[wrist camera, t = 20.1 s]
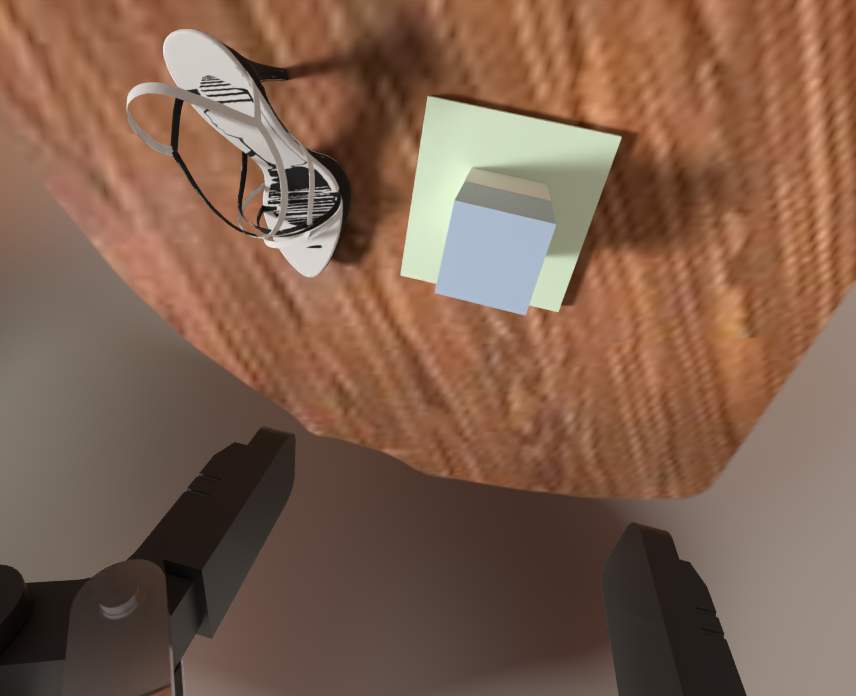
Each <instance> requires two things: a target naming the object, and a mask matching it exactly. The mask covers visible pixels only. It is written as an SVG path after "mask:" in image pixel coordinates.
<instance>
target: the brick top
mask: <svg viewBox="0 0 856 696" xmlns="http://www.w3.org/2000/svg"><path fill="white" fill-rule="evenodd" d="M555 227H556V221H555V216H554V212H553V208H552V203H551V202H549V201H545V200H541V199H537V198H532V197H528V196H524V195H520V194H515V193H511V192H507V191H503V190H498V189H494V188H490V187H485V186H481V185H477V184H473V183H468V182H464V184H463V185H462V187H461V189H460V191H459V193H458V195H457V196H456V198H455V200H454V205H453V209H452V214H451V219H450V223H449V228H448V233H447V237H446V242H445V247H444V252H443V256H442V261H441V266H440V270H439V275H438V280H437V284H436V289H435V293H437V294H441V295H445V296H449V297H453V298H457V299H461V300H465V301H469V302H473V303H477V304H481V305H485V306H489V307H493V308H497V309H502V310H506V311H510V312H514V313H518V314H522V315H526V313H527V310H528V307H529V304H530V301H531V298H532V295H533V292H534V289H535V286H536V283H537V280H538V277H539V274H540V271H541V268H542V265H543V262H544V259H545V256H546V254H547V251H548V248H549V245H550V242H551V239H552V236H553V233H554V230H555Z"/></svg>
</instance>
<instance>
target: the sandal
mask: <svg viewBox="0 0 856 696" xmlns="http://www.w3.org/2000/svg"><path fill="white" fill-rule="evenodd" d="M163 54H164V59H165V62H166V65H167V68H168V70H169V72H170V74H171V76H172V78H173V80H174V81H175V83H176V85H177V86H178V87H175V86H172V85H169V84H163V83H154V82H149V83H143V84H140V85H137V86H136V87H134V88H133V89H132V90H131V91H130V92H129V95H128V98H127V110H126V111H127V118H128V121H129V124H130V125H131V127H132V129H133V130H134V131H135V132H136V133H137V135H138V136H139V137H140V138H141V139H142V140H143V141H144V142H145V143H146V144H148V145H149V146H150V147H152V148H153V149H154V150H156V151H157V152H159V153H162V154H165V155H168V156H173V157H174V158H175V160H176V162H177V163H178V165H179V166H180V168H181V169H182V171H183V172H184V174H185V175H186V177H187V178H188V180H189V181H190V183H191V184H192V186H193V187H194V189H195V190H196V192H197V193H198V194H199V196H200V197H201V198H202V199H203V200H204V201H205V203H206V204H207V205H208V206H209V207H210V209H211V210H212V211H213V212H214V213H216V214H217V215H218V216H219V217H220V218H221V219H223V220H224V221H225V222H226V223H227V224H228V225H230V226H231V227H233V228H235V229H236V230H238V231H240V232H242V233H245V234H248V235H250V236H251V237H256V236H258V237H256V238H259V237H260V238H263V239H264V242H265V244H266V245H267V246H269V247H273V248H279V249H280V251H281V252H282V254H283V255H284V256H285V258H286V259H287V260H288V261H289V263H290V264H291V265H292V266H293V267H294V268H295V269H296V270H297V271H298V272H300V273H301V274H303V275H304V276H306V277H315V276H317V275H319V274H320V273H321V272H322V271H323V270H324V269H325V267H326V266H327V265H328V263H329V262H330V260H331V258H332V256H333V255H334V253H335V251H336V249H337V247H338V245H339V242H340V240H341V237H342V235H343V232H344V229H345V226H346V222H347V219H348V215H349V210H350V203H351V189H350V183H349V180H348V177H347V174H346V172H345V170H344V169H343V167H342V166H341V165H340V164H339V163H338V162H337V161H336V160H334V159H333V158H331V157H329V156H327V155H324V154H321V153H317V152H314V151H312V150H310V149H308V148H307V147H305V146H304V145H302V144H301V143H300V142H299V141H298V140H297V139H295V138H294V137H293V135H292V134H291V133H290V132H289V131H288V130H287V128H286V127H285V126H284V125H283V123H282V122H281V120H280V119H279V117H278V116H277V114H276V112H275V111H274V109H273V107H272V105H271V103H270V101H269V99H268V97H267V94H266V91H265V88H264V87H263V86H262V84H261V82H264V81H284V80H288V77H287V72H286V71H285V70H284V69H283V68H277V67H271V66H267V65H262V64H259V63H256V62H253V61H250V60H248V59H246V58H244V57H243V56H241V55H240V54H239V53H238V52H236V51H235V50H233V49H232V48H230V47H228V46H227V45H225V44H223V43H222V42H220V41H219V40H217V39H216V38H214V37H213V36H211V35H209V34H207V33H205V32H202V31H200V30H194V29H180V30H177V31H174V32H172V33H171V34H169V35H168V36H167V38H166V40H165V42H164V46H163ZM148 93H156V94H164V95H168V96H172V97H175V98H176V99H175V104H174V109H173V119H172V133H171V146H166V145H163V144H161V143H159V142H156V141H155V140H154V139H153V138H151V137H150V136H149V135H148V134H147V133H146V132H144V131H143V130H142V129H141V128H140V126H139V125H138V124H137V123H136V122H135V121H134V120H133V118H132V116H131V114H130V113H129V109H128V104H129V103H130V101H131V100H132V99H133V98H134V97H136V96H139V95H142V94H148ZM183 101H187V102H189V103H190V104H191V105H192V106H193V107H194V108H195V109H196V111H197V112H198V113H199V114H200V115H201V116H202V117H203V118H204V119H205V120H206V121H207V122H208V123H209V124H210V125H212V126H213V127H214V128H215V129H216V130H217V131H218V132H220V133H221V134H222V135H223V136H224V137H226V138H227V139H228V140H229V141H231V142H232V143H233V144H234V145H236V146H237V147H238V148H239V149H241V150H242V171H241V181H240V188H239V195H238V209H239V214H238V222H239V225H240V228H241V229H242V230H241V229H240V228H238V227H236V226H234V225H233V224H232V223H230V222H229V221H228V220H227V219H225V218H224V217H223V216H222V215H221V214H220V213H219V212H218V211H217V210H216V209H215V208H214V207H213V206H212V205H211V204H210V202H209V201H208V200H207V199H206V197H205V196H204V195H203V193H202V192H201V190H200V189H199V187H198V186H197V184H196V183H195V181H194V179H193V177H192V176H191V174H190V172H189V171H188V169H187V167H186V165H185V164H184V162H183V160H182V158H181V157H180V155H179V153H178V151H177V149H178V136H179V124H180V115H181V109H182V105H183ZM247 155H248V156H250V157H251V158H252V159H253V160H254V161H256V162H257V163H258V165H259V166H260V167H261V169H262V170H263V173H264V176H265V182H264V183H263V184H261V185H260V186H259V187H258V188H257V189H256V190H254V191H253V192H252V193H251V194H250V195H249V196H248V198H247V199H246V200H245V201H244V203H243V204H242V198H243V193H244V187H245V181H246V174H247ZM262 189H264V195H263V205H262V207H261V209H260V210H259V213H258V216H257V225H258V226H256V225H253V224H252V223H250V222H249V221H248V220H247V219H246V218H245V216H244V214H243V210H244V209H245V207H246V205H247V204H248V203H249V201H250V200H251V199H252V198H253V197H254V196H255V195H256V194H258V193H259V192H260V191H261V190H262ZM263 212H264V215H265V219H266V222H267V225H268V229H266V228H261V227H259V221H260V218H261V215H262V213H263ZM241 216H243V217H244V219H245V220H246V221H248V222H249V223H250V224H251V225H252V226H254V227H255V228H257V229H259V230H261V231H262V232H263V236H261V235H256V234H252V233H249V232H246V231H245V229H244V228H243V226H242V223H241ZM271 236H272V237H273V239H274V240H275V241H268V240H266V239H267V238H270V237H271Z"/></svg>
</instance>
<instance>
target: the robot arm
mask: <svg viewBox="0 0 856 696" xmlns="http://www.w3.org/2000/svg"><path fill="white" fill-rule="evenodd" d="M295 445H296V438H295V434H293V433H289V432H285V431H281V430H277V429H273V428H269V427H266V426H263V427H261V428H260V429H259V430H258V432H257V433H256V435H255V436H254V437H253V438H252V440H251V441H250V442H249V444H248V445H244V444H240V443H236V442H234V443H233V444H231V445H230V446H228V447H226V448H225V449H223V450H222V451H220V452H218V453H217V454H215V455H214V456H213V457H212V458H211V460H210V461H209V462H208V463H207V465H206V466H205V467H204V468H203V469H202V471H201V472H200V474H199V476H198V477H196V478H195V479H194V481H193V482H192V483H191V484H190V485H189V487H188V488H187V491H186V492H184V493H183V494H182V495H181V497H180V498H179V499H178V500H177V502H176V503H175V504H174V505H173V506H172V508H171V509H170V510H169V511H168V513H167V514H166V515H165V516H164V517H163V519H162V520H161V521H160V522H159V524H158V525H157V526H156V527H155V529H154V530H153V531H152V532H151V534H150V535H149V536H148V537H147V538H146V540H145V541H144V542H143V543H142V545H141V546H140V547H139V548H138V550H137V551H136V552H135V553H134V554H133V555H132V556H130V557H129V558H128V559H127V560H125V561H121V562H118V563H115V564H112V565H110V566H108V567H106V568H104V569H103V570H101V571H99V572H98V573H96V574H95V575H94V576H92V577H90V578H86V579H80V580H68V581H50V582H33V583H25V581H24V579H23V577H22V575H21V574H20V573H19V572H18V570H16V569H14V568H13V567H10V566H7V565H0V696H185V683H184V670H183V655H184V653H185V651H186V650H187V648H188V646H189V645H190V643H191V641H192V639H193V638H194V636H195V634H198V635H202V636H205V637H209V638H213V636H214V634H215V632H216V630H217V628H218V627H219V625H220V623H221V621H222V619H223V618H224V616H225V614H226V612H227V610H228V608H229V607H230V605H231V603H232V601H233V599H234V598H235V596H236V594H237V592H238V590H239V589H240V587H241V585H242V583H243V581H244V579H245V578H246V576H247V574H248V572H249V570H250V569H251V567H252V565H253V563H254V561H255V559H256V558H257V556H258V554H259V552H260V550H261V549H262V547H263V545H264V543H265V541H266V540H267V538H268V536H269V534H270V532H271V530H272V529H273V527H274V525H275V523H276V521H277V520H278V518H279V516H280V514H281V512H282V510H283V509H284V507H285V505H286V503H287V501H288V499H289V496H290V494H291V491H292V488H293V483H294V478H295ZM602 591H603V597H604V604H605V610H606V617H607V623H608V630H609V636H610V642H611V649H612V655H613V662H614V667H615V673H616V680H617V687H618V693H619V696H746V693H745V690H744V687H743V684H742V682H741V679H740V676H739V673H738V671H737V668H736V665H735V662H734V660H733V657H732V654H731V651H730V649H729V646H728V643H727V640H726V639H724V632H723V630H722V627H721V624H720V621H719V618H717V617H716V610H715V607H714V605H713V602H712V599H711V596H710V594H709V591H708V588H707V586H706V585H705V583H704V582H703V580H702V579H701V578H700V576H699V575H698V573H697V572H696V571H695V569H694V568H693V566H692V565H691V563H690V562H687V561H683V560H680V559H679V557H678V554H677V551H676V548H675V545H674V542H673V539H672V537H671V535H670V534H669V532H667V531H665V530H661V529H657V528H653V527H649V526H645V525H641V524H638V523H634V522H633V523H630V524H629V525H628V526H627V528H626V529H625V531H624V533H623V534H622V536H621V538H620V539H619V541H618V542H617V544H616V545H615V547H614V549H613V550H612V552H611V553H610V555H609V557H608V558H607V560H606V562H605V564H604V568H603V573H602Z"/></svg>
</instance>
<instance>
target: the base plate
mask: <svg viewBox="0 0 856 696" xmlns="http://www.w3.org/2000/svg"><path fill="white" fill-rule="evenodd" d="M621 138H622V137H621V136H620V135H617V134H612V133H607V132H602V131H598V130H593V129H588V128H583V127H578V126H574V125H569V124H564V123H559V122H555V121H550V120H545V119H540V118H535V117H531V116H526V115H521V114H516V113H511V112H507V111H502V110H497V109H492V108H488V107H483V106H478V105H473V104H468V103H464V102H459V101H454V100H449V99H444V98H440V97H435V96H428V97H427V104H426V110H425V117H424V124H423V130H422V137H421V143H420V150H419V157H418V163H417V170H416V176H415V183H414V190H413V196H412V203H411V209H410V216H409V223H408V229H407V236H406V242H405V249H404V255H403V262H402V269H401V276H406V277H410V278H414V279H419V280H423V281H427V282H431V283H436V284H437V280H438V275H439V270H440V266H441V261H442V256H443V252H444V247H445V242H446V237H447V233H448V228H449V223H450V219H451V214H452V209H453V205H454V200H455V198H456V196H457V195H458V193H459V191H460V189H461V187H462V185H463V184H464V181H465V179H466V177H467V175H468V173H469V171H470V170H471V168H476V169H481V170H485V171H490V172H494V173H499V174H504V175H508V176H513V177H517V178H522V179H526V180H531V181H535V182H540V183H544V184H547V185H548V189H549V194H550V198H551V203H552V208H553V212H554V216H555V221H556V227H555V230H554V233H553V236H552V239H551V242H550V245H549V248H548V251H547V254H546V256H545V259H544V262H543V265H542V268H541V271H540V274H539V277H538V280H537V283H536V286H535V289H534V292H533V295H532V298H531V301H530V304H529V305H530V306H534V307H539V308H543V309H547V310H551V311H556V312H559V309H560V306H561V303H562V301H563V298H564V295H565V292H566V290H567V287H568V284H569V281H570V279H571V276H572V273H573V270H574V268H575V265H576V262H577V259H578V257H579V254H580V251H581V248H582V246H583V243H584V240H585V237H586V234H587V232H588V229H589V226H590V223H591V221H592V218H593V215H594V212H595V210H596V207H597V204H598V201H599V199H600V196H601V193H602V190H603V188H604V185H605V182H606V179H607V177H608V174H609V171H610V168H611V166H612V163H613V160H614V157H615V155H616V152H617V149H618V146H619V144H620V141H621Z"/></svg>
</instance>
